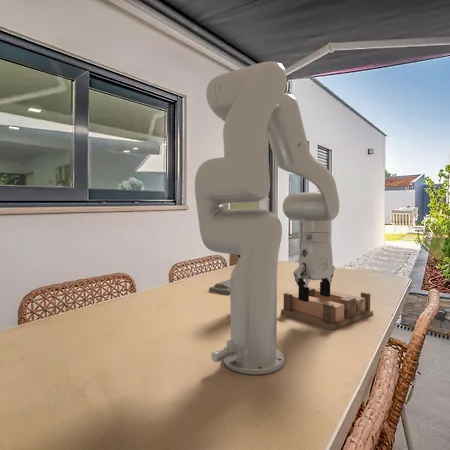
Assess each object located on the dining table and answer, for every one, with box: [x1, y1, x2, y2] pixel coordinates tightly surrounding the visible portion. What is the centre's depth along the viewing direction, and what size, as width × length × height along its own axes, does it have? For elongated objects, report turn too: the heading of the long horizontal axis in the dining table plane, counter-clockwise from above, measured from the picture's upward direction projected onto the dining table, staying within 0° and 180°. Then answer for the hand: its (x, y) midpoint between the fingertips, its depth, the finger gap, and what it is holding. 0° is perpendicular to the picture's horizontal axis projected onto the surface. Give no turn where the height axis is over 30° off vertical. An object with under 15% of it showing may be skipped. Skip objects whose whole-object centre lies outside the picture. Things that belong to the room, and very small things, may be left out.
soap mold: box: [208, 279, 230, 296], centre depth 135 cm, size 10×20×4 cm, turn 146°
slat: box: [292, 292, 344, 322], centre depth 99 cm, size 16×4×4 cm, turn 40°
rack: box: [280, 286, 374, 331], centre depth 102 cm, size 20×18×6 cm
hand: (314, 298), depth 98 cm, fingers open, 9 cm apart
